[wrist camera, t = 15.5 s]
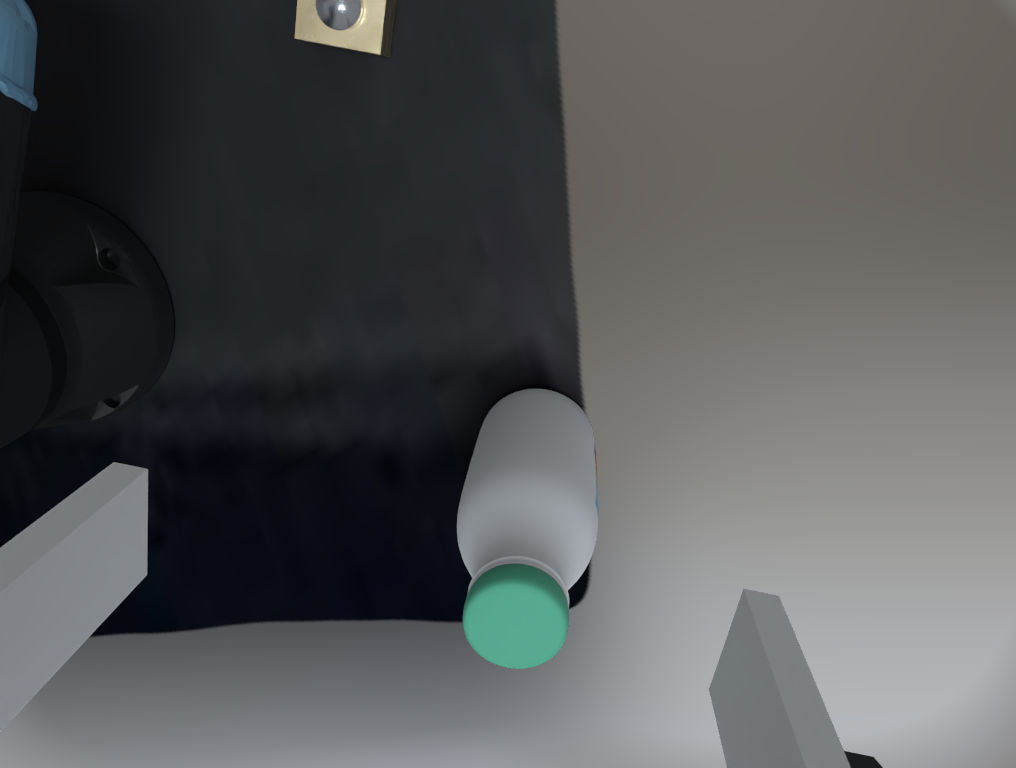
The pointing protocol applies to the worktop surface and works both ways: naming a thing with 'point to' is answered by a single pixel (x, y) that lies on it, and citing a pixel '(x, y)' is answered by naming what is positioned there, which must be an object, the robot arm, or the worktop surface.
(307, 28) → the barrel bolt latch
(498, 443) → the milk bottle
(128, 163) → the worktop surface
